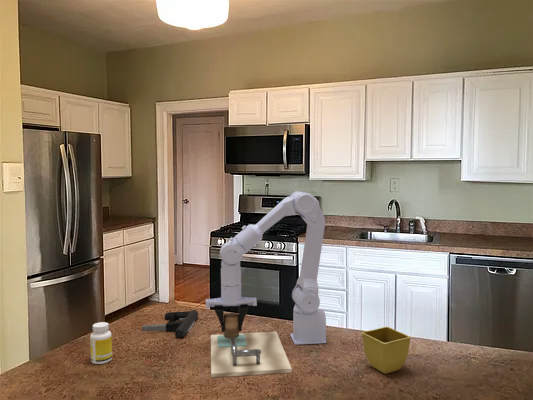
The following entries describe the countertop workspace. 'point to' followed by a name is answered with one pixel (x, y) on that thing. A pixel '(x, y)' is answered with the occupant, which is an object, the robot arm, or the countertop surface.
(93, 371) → the countertop surface
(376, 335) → the flower pot
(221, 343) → the pad
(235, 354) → the bent wire
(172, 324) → the door handle
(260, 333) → the birch board
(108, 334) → the supplement bottle
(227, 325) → the walnut cylinder
